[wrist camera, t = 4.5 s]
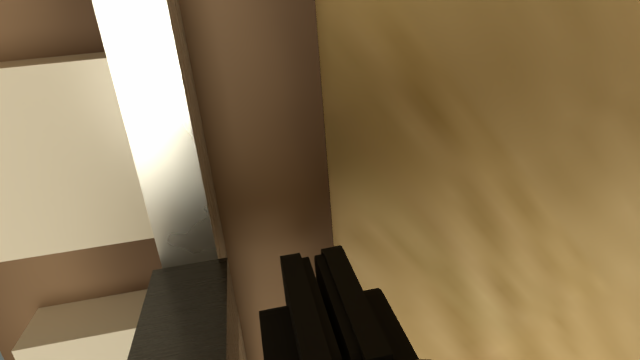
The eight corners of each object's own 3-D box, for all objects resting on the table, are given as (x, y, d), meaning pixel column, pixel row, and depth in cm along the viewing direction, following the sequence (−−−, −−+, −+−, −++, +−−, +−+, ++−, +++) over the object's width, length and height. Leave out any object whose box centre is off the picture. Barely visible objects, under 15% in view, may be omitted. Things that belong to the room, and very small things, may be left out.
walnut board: (295, -52, 15) (310, -64, 12) (330, 350, 22) (345, 400, 19) (-98, -25, 13) (-185, -32, 10) (78, 402, 20) (55, 465, 17)
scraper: (185, -15, 12) (137, -34, 6) (262, 409, 18) (279, 616, 12) (107, -8, 11) (-34, -22, 5) (213, 420, 18) (204, 638, 12)
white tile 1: (133, 48, 12) (117, 57, 10) (171, 206, 14) (162, 236, 12) (-62, 67, 12) (-117, 79, 10) (6, 231, 13) (-29, 266, 12)
